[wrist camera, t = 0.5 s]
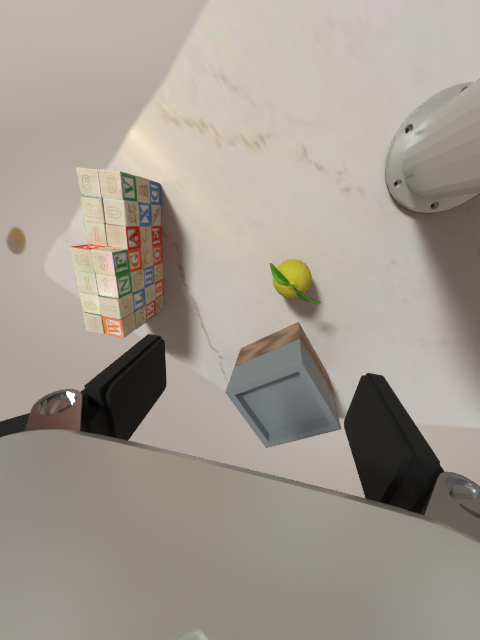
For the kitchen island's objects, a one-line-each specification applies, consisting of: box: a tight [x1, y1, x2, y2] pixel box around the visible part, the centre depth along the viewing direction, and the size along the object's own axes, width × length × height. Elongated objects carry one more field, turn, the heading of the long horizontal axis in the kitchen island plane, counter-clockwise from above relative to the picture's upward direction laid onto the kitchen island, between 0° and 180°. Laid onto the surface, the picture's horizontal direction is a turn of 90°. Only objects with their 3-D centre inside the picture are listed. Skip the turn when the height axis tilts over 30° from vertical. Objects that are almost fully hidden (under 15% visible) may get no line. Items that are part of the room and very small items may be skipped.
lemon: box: [270, 259, 321, 303], centre depth 32 cm, size 7×6×10 cm
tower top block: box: [226, 339, 341, 448], centre depth 35 cm, size 12×12×6 cm
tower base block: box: [235, 322, 333, 396], centre depth 41 cm, size 12×12×6 cm
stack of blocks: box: [70, 168, 164, 338], centre depth 34 cm, size 21×6×12 cm, turn 173°
